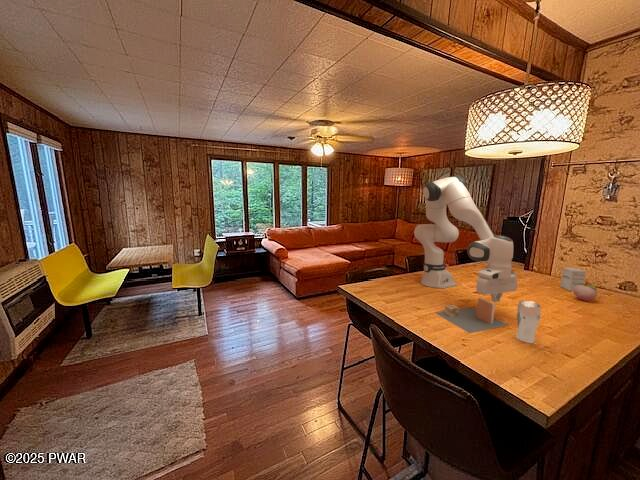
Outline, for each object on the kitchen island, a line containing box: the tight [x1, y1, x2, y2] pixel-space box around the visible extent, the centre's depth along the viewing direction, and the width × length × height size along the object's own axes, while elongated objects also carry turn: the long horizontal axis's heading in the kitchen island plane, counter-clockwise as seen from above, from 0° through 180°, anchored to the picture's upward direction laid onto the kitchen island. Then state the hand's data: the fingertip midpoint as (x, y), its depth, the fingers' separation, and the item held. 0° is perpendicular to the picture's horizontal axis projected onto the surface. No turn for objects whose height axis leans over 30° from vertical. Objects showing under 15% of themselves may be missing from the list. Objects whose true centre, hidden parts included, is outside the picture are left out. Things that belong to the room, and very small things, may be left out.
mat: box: [435, 306, 510, 334], centre depth 119 cm, size 22×20×1 cm
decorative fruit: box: [572, 282, 598, 302], centre depth 139 cm, size 9×8×10 cm
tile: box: [476, 297, 496, 324], centre depth 117 cm, size 2×7×9 cm, turn 17°
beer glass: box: [515, 300, 542, 345], centre depth 100 cm, size 7×7×15 cm
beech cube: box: [444, 304, 460, 317], centre depth 123 cm, size 4×4×4 cm
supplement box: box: [560, 267, 587, 292], centre depth 157 cm, size 7×7×13 cm
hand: (495, 301), depth 117 cm, fingers closed
